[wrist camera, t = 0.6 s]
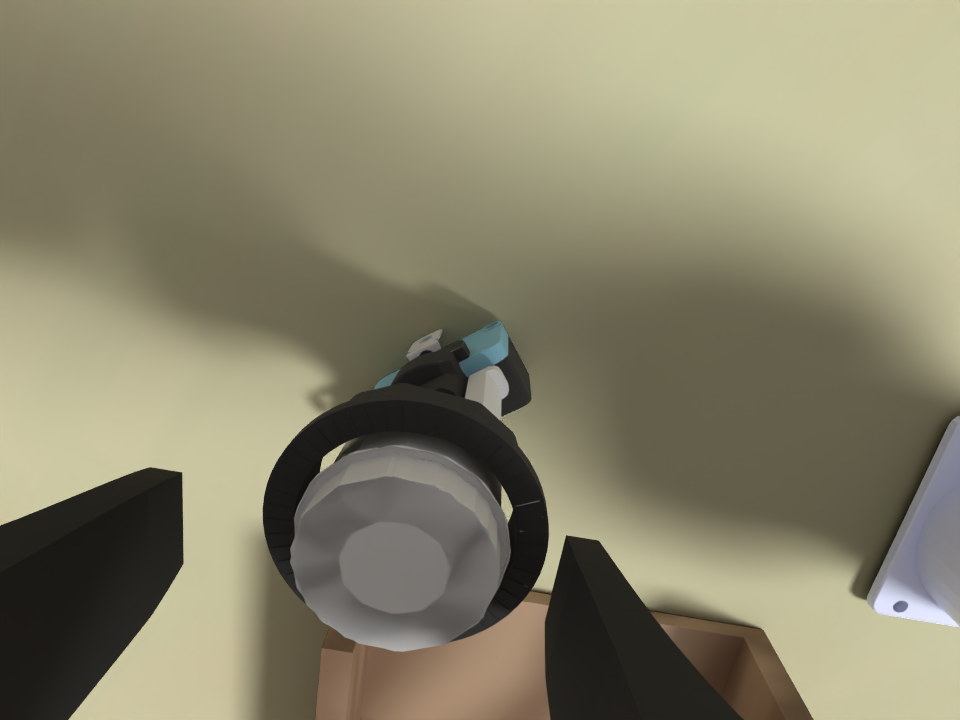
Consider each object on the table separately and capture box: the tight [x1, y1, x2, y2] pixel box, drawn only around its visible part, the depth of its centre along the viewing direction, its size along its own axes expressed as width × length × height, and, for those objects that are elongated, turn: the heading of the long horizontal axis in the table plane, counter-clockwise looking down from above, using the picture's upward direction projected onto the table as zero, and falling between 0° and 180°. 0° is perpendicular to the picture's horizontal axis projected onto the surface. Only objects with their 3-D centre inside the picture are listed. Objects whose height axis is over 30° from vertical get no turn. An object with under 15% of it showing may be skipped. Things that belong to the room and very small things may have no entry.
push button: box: [263, 320, 549, 652], centre depth 14 cm, size 7×5×10 cm
